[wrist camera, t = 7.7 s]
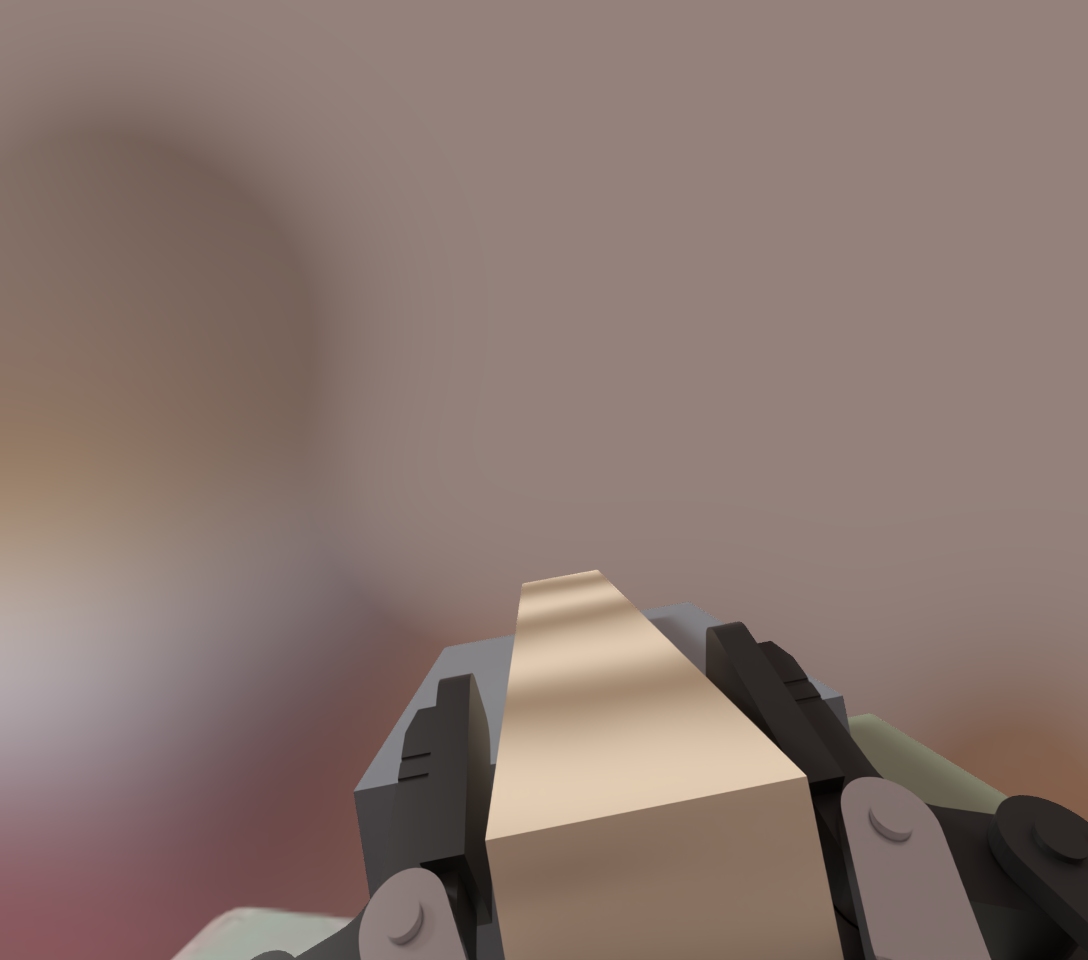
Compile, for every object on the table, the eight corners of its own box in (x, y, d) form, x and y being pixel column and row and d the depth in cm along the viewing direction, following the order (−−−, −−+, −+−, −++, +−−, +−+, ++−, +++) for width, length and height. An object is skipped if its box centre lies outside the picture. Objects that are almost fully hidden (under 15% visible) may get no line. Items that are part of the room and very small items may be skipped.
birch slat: (857, 1030, 6) (807, 776, 6) (528, 1101, 6) (485, 840, 6) (607, 626, 26) (597, 569, 26) (532, 640, 26) (522, 583, 26)
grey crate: (966, 1294, 13) (842, 695, 14) (450, 1416, 13) (353, 791, 14) (744, 890, 27) (688, 601, 28) (493, 941, 27) (444, 647, 28)
